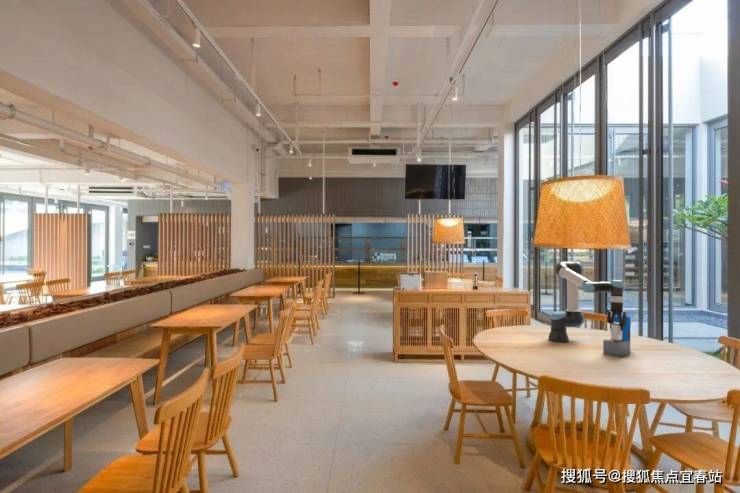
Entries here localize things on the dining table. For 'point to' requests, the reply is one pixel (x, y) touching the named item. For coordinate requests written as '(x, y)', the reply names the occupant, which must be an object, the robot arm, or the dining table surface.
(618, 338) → the column
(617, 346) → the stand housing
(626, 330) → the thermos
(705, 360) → the dining table surface
